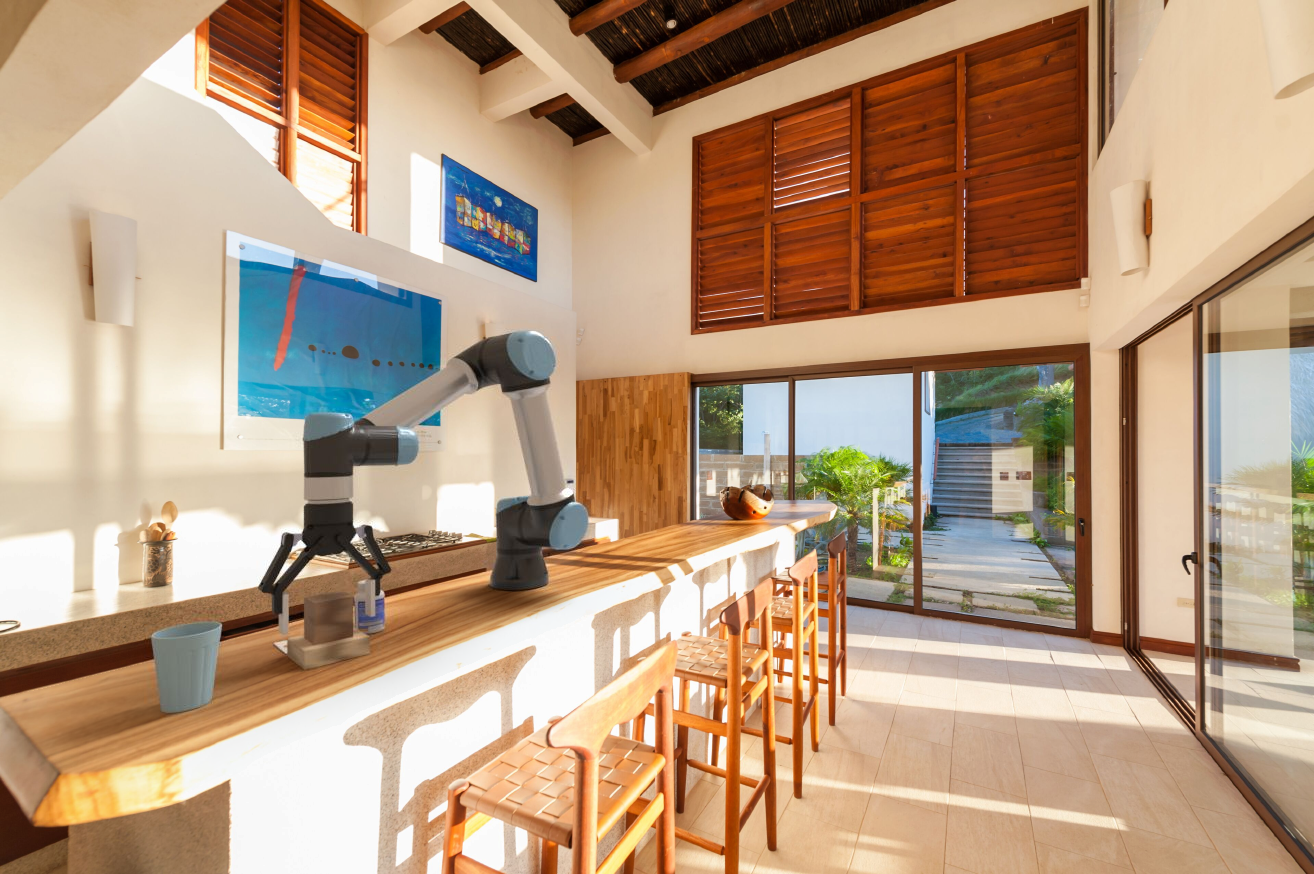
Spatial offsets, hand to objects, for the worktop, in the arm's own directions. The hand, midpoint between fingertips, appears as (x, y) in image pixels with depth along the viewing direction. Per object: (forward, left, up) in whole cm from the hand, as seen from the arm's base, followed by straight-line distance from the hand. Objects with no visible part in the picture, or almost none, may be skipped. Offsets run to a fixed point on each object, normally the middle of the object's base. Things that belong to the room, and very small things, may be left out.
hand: (329, 623), depth 100 cm
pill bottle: (-10, -9, -6) cm, 15 cm away
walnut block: (0, 0, -2) cm, 2 cm away
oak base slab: (0, 0, -5) cm, 5 cm away
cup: (+20, +7, -6) cm, 22 cm away
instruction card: (0, -10, -5) cm, 11 cm away
